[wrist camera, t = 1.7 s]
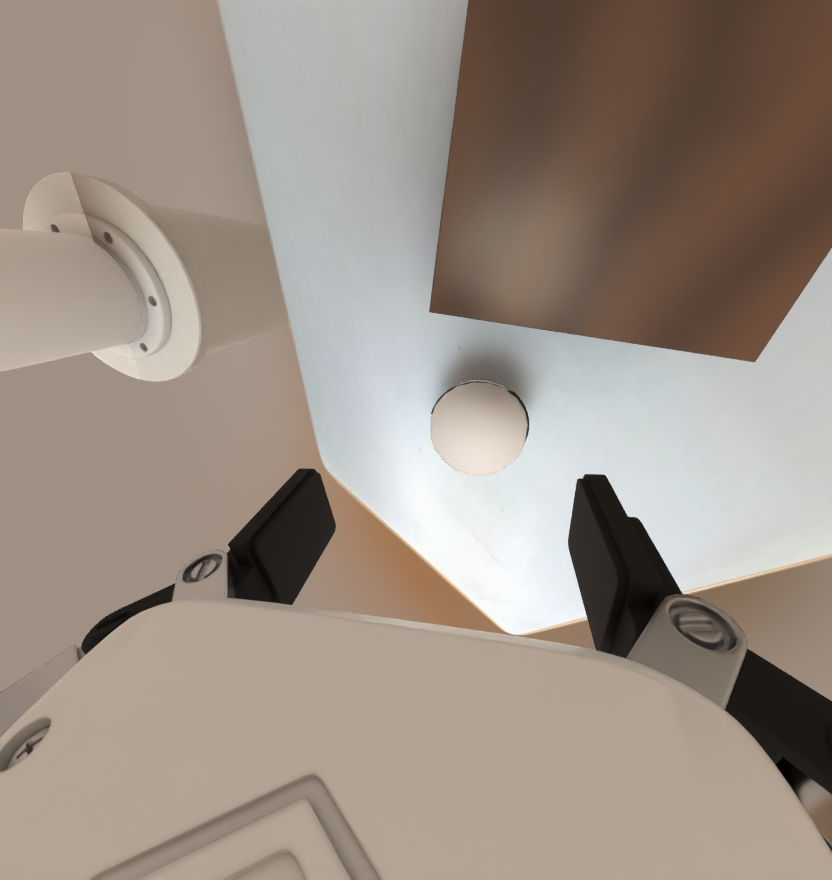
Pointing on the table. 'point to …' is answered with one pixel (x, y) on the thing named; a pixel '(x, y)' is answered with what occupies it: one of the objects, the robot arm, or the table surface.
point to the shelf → (639, 169)
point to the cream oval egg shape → (479, 427)
